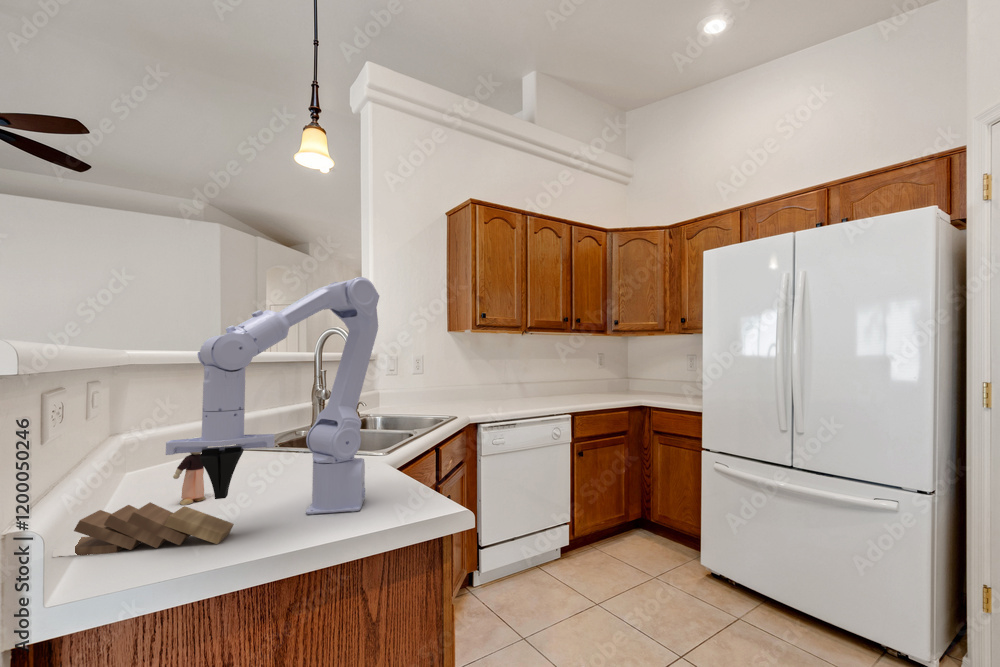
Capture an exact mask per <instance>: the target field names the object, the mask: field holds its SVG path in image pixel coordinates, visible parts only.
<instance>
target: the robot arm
mask: <svg viewBox="0 0 1000 667" xmlns="http://www.w3.org/2000/svg"><path fill="white" fill-rule="evenodd" d="M379 300H380V295H379V292H378V291H377V289H376V288H375V286H374V283H373V282H371V281H370V280H369V279H368V278H366V277H362V276H358V277H355V278H352V279H348V280H343V281H339V282H338V281H334V282H331V283H330V284H328V285H325V286H321V287H319V288H316V289H314V290H313V291H311V292H309V293H307V294H306V295H305V296H303V297H301V298H299V299H298V300H297V301H294V302H293V303H292V304H290V305H287V306H286V307H284V308H283V309H281V310H280V311H274V310H271V309H266V310H264V311H263V310H262V309H259V310H256V311H254V312H253V313H251V316H252V317H251V318H249V319H247V320H245V321H243V322H241V323H239V324H237V325H230V326H227V327H226V328H225V331H226V333H225V334H220V335H214V336H211V337H208V338H207V339H206V340H205V341H204V342H203V343H202V344H203V345H201V346H200V350H199V351H198V352H197V358H198V361H199V363H200V364H201V365H202V366H203V368H204V369H203V371H204V372H203V383H202V388H203V389H202V412H201V413H202V414H201V438H194V437H192V438H184V439H172V440H171V439H169V440H168V441H166V442H165V456H170V455H171V456H173V455H176V454H188V453H190V454H191V452H201V453H200V454H201V456H200V461H201V463H202V464H203V466H204V469H205V471H206V473H207V475H208V478H209V481H210V483H211V485H212V490H213V493H214V494H213V495H214V500H222V499H226V498H227V497H228V494H229V490H230V489H229V488H230V484H231V480H232V477H233V474H234V472H235V469H236V467H237V465H238V464H239V461H240V458H241V457H242V455H243V452H244V450H245V449H246V450H247V449H262V448H266V449H267V448H268V449H271V448H272V449H273V448H274V447H275V445H276V444H275V442H276V440H275V438H276V436H275V435H276V434H275V433H265V434H263V433H262V434H260V433H259V434H257V433H256V434H245V406H246V405H245V404H246V403H245V402H246V367H248V366H249V365H250V364H251V362H252V360H253V358H255V357H257V356H258V355H260V354H261V353H263V352H265V351H266V350H268V349H269V348H271V347H273V346H276V344H279V343H280V342H282V341H283V340H284V339H286V338H287V337H288V335H289V332H290V331H289V330H290V328H291V327H292V326H295V325H296V324H298V323H300V322H302V321H304V320H306V319H308V318H310V317H311V316H314V315H315V314H317V313H319V312H321V311H323V310H330V311H331V312H332V313H333V314H334V315H335V316H337V318H338V319H340V320H341V321H342V322H343V323H344V324H345V326H346V328H347V329H348V333H347V337H346V341H345V342H344V343H345V344H344V347H343V351H342V352H341V353H342V354H341V357H340V361H339V363H338V364H339V365H338V367H337V371H336V374H335V377H334V381H333V385H332V388H331V392H330V395H329V399H328V402H327V405H326V406H325V407H324V409H323V410H321V411H320V412H319V413H318V415H317V416H316V419H315V421H314V422H315V423H314V424H313V425H312V426H311V428H310V429H309V430H308V432H307V434H306V438H305V441H306V446H307V448H308V450H309V451H310V452H311V453H312V487H311V489H312V490H311V492H312V494H311V495H312V496H311V498H312V500H311V504H310V505H309V507H308V508H307V509H306V510H305V514H306V515H312V514H313V515H315V514H328V513H343V512H356V511H357V512H358V511H360V510H361V509H362V507H363V504H364V501H365V499H366V485H365V484H366V483H365V482H366V481H365V480H366V478H365V474H366V468H365V465H366V462H365V458H363V457H355V456H356V454H357V453H358V451H359V450H360V448H361V445H362V444H361V443H362V437H361V436H362V435H361V428H362V420H361V418H360V417H359V415H358V413H357V410H358V409H357V408H358V406H359V401H360V398H361V394H362V389H363V386H364V382H365V378H366V375H367V371H368V367H369V364H370V361H371V360H370V359H371V357H372V353H373V349H374V345H375V343H376V339H377V334H378V330H379V321H378V320H379V318H378V310H377V309H378V308H377V307H378V303H379Z"/></svg>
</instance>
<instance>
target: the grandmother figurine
mask: <svg viewBox="0 0 1000 667" xmlns="http://www.w3.org/2000/svg"><path fill="white" fill-rule="evenodd" d="M201 437H202V436H201ZM201 437H200V436H195V437H193V438H201ZM201 454H202V452H191V453H190V454H189V455H186V456H185V457H184V458H183V460H181V462H180V463H179V464H178V466H177V467H176V470H175V472H174V474H173V476H172V478H173V479H174V480H178V479H179V478H180V477H181V476H180V475H181V474H182V473H183V472H185V474H184V478H183V481H182V482H183V483H182V486H181V500H180V502H179V504H180V506H187V505H191V504H193V503H194V502H201V501H204V500H206V497H205V481H204V472H205V471H204V469H205V468H204V466H203V464H202V463H201V461H200V456H201ZM184 470H185V471H184Z"/></svg>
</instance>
